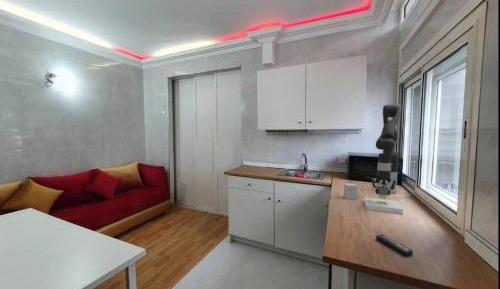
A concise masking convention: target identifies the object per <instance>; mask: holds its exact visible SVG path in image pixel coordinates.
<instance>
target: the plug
mask: <svg viewBox="0 0 500 289" xmlns="http://www.w3.org/2000/svg"><path fill="white" fill-rule="evenodd" d="M388 191H389V188H388V187H386V186H385V185H380V186H379V188H378V194H377V195H378V198H379V199H383V200H387V196H388Z"/></svg>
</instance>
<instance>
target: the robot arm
mask: <svg viewBox="0 0 500 289" xmlns="http://www.w3.org/2000/svg"><path fill="white" fill-rule="evenodd" d="M401 114H402V105H401V104H398V103H397V104H394V103H393V104H392V103H391V104H385V105H383V107H382V120H383V123H382V124H383V127H382V130H381V134H380V135H379V137H378V138H377V140H376V142H375V147H376V149H377V150H382V153H378V156H377V158H378V159H377V168H376V171H377V172H376V177H372V178H371V185H372V187H373V188H374V189H375V194H376V195H379V194H378V188H379V186H382V185H385V186H386V187H388V188H389V191H388V195H387V196H390V195H391V194H397V188H398V187H397V186H398V185H397V184H398V170H399V169H398V165H399V159H400V158H399V155H400V154H399V152H398V151H394V149H395V146H396V142H397V140H398V129H397V128H396V127H397V124H398V122H399V120H400V117H401ZM390 118H391V119H390ZM375 182H377V184H376V183H375Z"/></svg>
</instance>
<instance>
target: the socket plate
mask: <svg viewBox="0 0 500 289" xmlns="http://www.w3.org/2000/svg"><path fill="white" fill-rule="evenodd" d="M363 203H364V206H365V209H366V210H369V211H378V212H383V213H392V214H398V215H399V214H400V215H403V214H404V209H403V207H402V206H401V204H400V203H399V201H398V200H391V199H390V200H389V199H383V198H372V197H364V198H363Z"/></svg>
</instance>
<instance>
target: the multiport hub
mask: <svg viewBox="0 0 500 289" xmlns="http://www.w3.org/2000/svg"><path fill="white" fill-rule="evenodd" d="M375 240H376V241H377V242H379V243H381V244H383V245H384V246H386V247H388V248H389V249H391V250H393V251H394V252H396V253H398V254H399V255H401V256H402V257H410V256H413V255H414V254H413V252H414V251H413V249H412V248H409V247H407V246H406V245H404V244H402V243H399V242H398V241H396V240H394V239H392V238H390V237H388V236H387V235H384V234H379V235H378V234H377V235H376V236H375Z"/></svg>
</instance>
